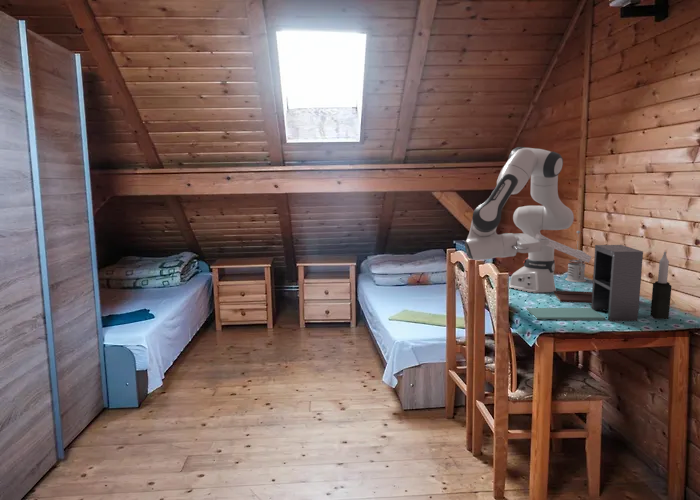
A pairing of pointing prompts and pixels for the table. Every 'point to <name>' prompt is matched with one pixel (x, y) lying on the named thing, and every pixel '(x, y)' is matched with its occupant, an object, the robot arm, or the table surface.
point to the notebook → (574, 296)
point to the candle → (661, 292)
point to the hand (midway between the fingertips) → (546, 240)
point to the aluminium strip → (565, 249)
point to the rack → (617, 281)
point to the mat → (566, 313)
